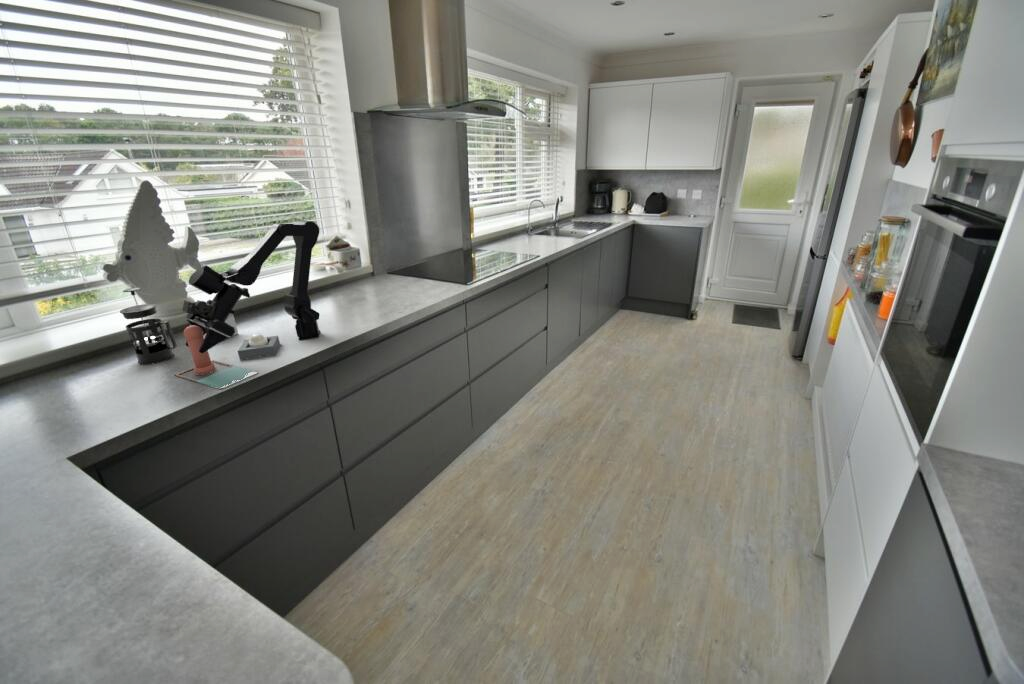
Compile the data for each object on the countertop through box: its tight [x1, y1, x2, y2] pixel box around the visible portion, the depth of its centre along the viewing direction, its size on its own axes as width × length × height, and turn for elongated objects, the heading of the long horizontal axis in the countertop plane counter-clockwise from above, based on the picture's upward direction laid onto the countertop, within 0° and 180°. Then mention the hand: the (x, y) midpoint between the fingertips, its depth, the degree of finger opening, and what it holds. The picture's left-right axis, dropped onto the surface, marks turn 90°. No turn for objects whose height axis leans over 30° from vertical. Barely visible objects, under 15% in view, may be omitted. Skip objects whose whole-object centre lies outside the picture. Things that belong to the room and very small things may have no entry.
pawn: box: [183, 325, 217, 376], centre depth 132 cm, size 5×5×14 cm
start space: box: [174, 359, 234, 383], centre depth 135 cm, size 11×11×1 cm
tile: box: [196, 365, 256, 388], centre depth 130 cm, size 11×11×1 cm
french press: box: [119, 287, 178, 365], centre depth 141 cm, size 12×9×23 cm
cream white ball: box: [249, 333, 268, 347], centre depth 146 cm, size 5×5×5 cm
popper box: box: [237, 335, 281, 360], centre depth 147 cm, size 10×10×3 cm
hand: (193, 349), depth 131 cm, fingers open, 9 cm apart
